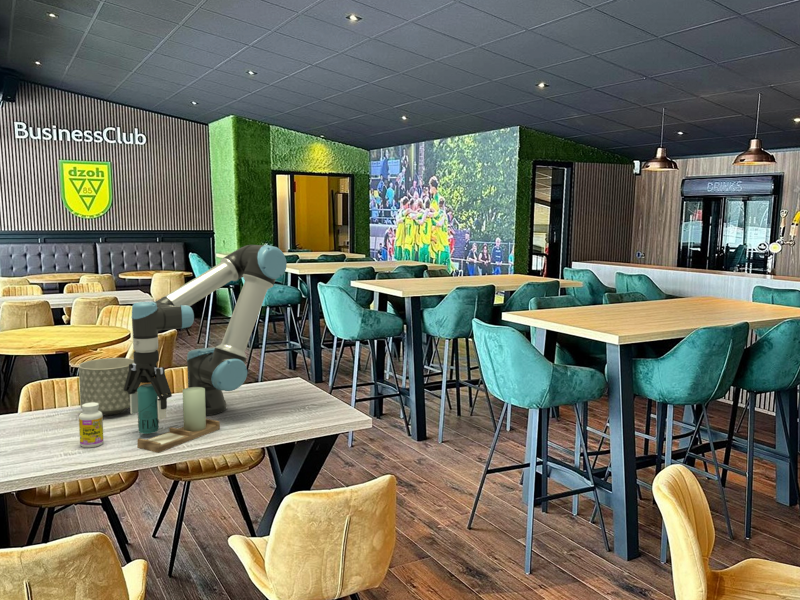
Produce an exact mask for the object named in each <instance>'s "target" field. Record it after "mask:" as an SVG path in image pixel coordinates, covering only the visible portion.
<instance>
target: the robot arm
mask: <svg viewBox="0 0 800 600" xmlns="http://www.w3.org/2000/svg"><path fill="white" fill-rule="evenodd" d="M287 265H288V264H287V259H286V256H285V253H284V252H283V251H282V250H281V249H280V248H279V247H277V246H275V245H274V246H272V245H268V244H265V245H263V244H261V245H260V244H247V245H244V246H242V247H240V248H238V249H235V250H234V251H232V252H231V253H229V254H227V255H226V256H224V257H223V258H221V259H220V262H219V263H218V264H216V265H214V266H213V267H211V268H209V269H207V270H206V271H205V272H203V273H201V274H200V275H198V276H197V277H195V278H193V279H191V280H189V281H188V282H186V283H184V284H183V285H182V286H180V287H178V288H177V289H175V290H173V291H171V292H169V293H168V294H166V295H164V296H163V297H161V298H160V299H159V298H158V300H155V301H154V300H152V301H139V302H134V303H133V304H132V307H131V324H132V327H131V328H132V344H133V346H132V348H133V349H132V350H133V351H134V352H133V354H132V356H133V360H134V363H133V364H129V372H128V375H127V379H126V383H125V386H124V391H127V392H128V394H129V402H130V407H129V408H130V411H129V412H130V414H131V415H135V414H138V396H137V393H135V392H137V389H138V388H139V387H140V386H141V384H142V383H141V382H140V377H141V376H146V377H147V379H148V381H149V382H150V384H152V386H153V388H154V390H155V391H156V393H157V395H158V400H157V407H158V420H159V421H161V420H164V419H166V418H167V407H168V399H169V398H172V396H173V395H172V392H171V389H170V385H169V382H168V379H167V377H166V371H165V370H166V369H165V367H164V366H162V367H158V365H157V364H158V362H159V360H160V359H159V356H160V355H159V350H158V349H159V331H167V330H176V329H185V328H190V327H191V326H192V325H193V324H194V322H195V321H194V319H195V313H194V310H193V308H192V307H191V306H193V305H194V304H196V303H197V302H199V301H201V300H203V299H204V298H206V297H207V296H208V295H210V294H212V293H213V292H216V290H218V289H220V288H221V287H223V286H225V285H226V284H228V283H230V282H231V281H233V282H237V281H238V280H240V279H242V278H243V281H244V282H243V286H242V288H241V290H240V293H239V295H238V298H237V300H236V303H235V306H234V309H233V312H232V315H231V316H230V319H229V322H228V325H227V327H226V331H225V333H224V336H223V338H222V341H221V343H220V344H218V345H217V346H214V347H206V348H205V347H204V348H197V349H192V350H189V351H188V352H187V354H186V355H187V356H186V357H187V358H186V364H187V368H186V371H187V388H190V387H202V388H205V409H206V416H211V415H212V416H213V415H217V414H220V413H222V412H223V413H224V412H225V411H226V410H227V401H226V400H225V397H224V394H223V391H225V392H233V391H235V390H238V389H239V388H240V387H241V386H243V385H244V383H245V381H246V379H247V377H248V369H247V365H246V362H247V360H248V359H247V358H248V357H247V355H246V350H247V349H246V348H248V347H247V346H248V344H249V341H250V339H251V336H252V332H253V330H254V327H255V324H256V321H257V319H258V316H259V313H260V311H261V308H262V305H263V304H264V300H265V298H266V295H267V292H268V290H269V289H271V288H273V287H274V285H275V282H276V280H277V279H279V278H281V277H282V276H283V275H285V272H286V271H287ZM128 386H129V387H128Z"/></svg>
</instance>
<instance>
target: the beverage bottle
mask: <svg viewBox="0 0 800 600" xmlns="http://www.w3.org/2000/svg"><path fill="white" fill-rule="evenodd" d="M140 382H141V384H142V385H141V384H140V385H139V387H138V389H137V396H138V413H137V420H138V421H137V426H138V427H137V428H138V432H139V433H140V434H142V435H143V434H145V435H147V434H154V433H157V432H158V431H159V429H160V427H159V426H160V420H158V407H157V400H158V399H159V397H158V395H157V393H156V391H155V390H154V388H153V386H152V384H151V382H149V381H148V379H147V377H146V376H141V377H140Z"/></svg>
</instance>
